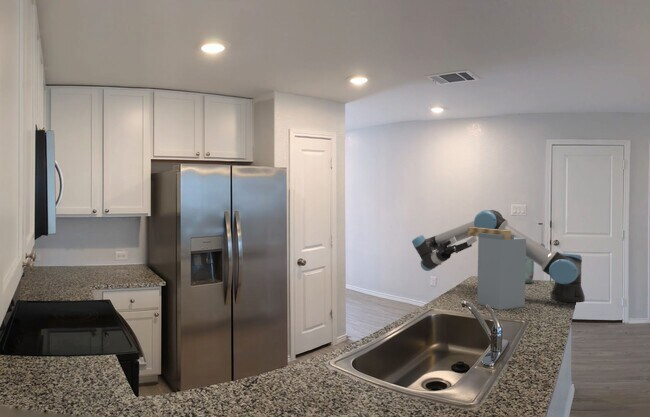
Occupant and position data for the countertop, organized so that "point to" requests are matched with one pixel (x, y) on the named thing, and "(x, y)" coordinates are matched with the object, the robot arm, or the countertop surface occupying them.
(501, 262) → the stand
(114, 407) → the countertop surface
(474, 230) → the oak block
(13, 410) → the countertop surface
